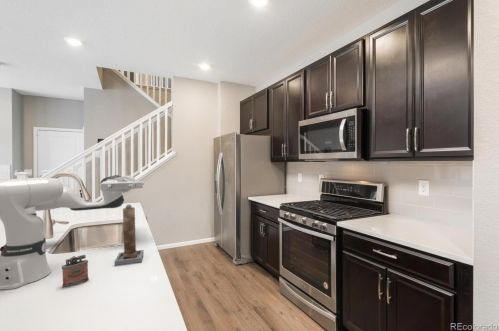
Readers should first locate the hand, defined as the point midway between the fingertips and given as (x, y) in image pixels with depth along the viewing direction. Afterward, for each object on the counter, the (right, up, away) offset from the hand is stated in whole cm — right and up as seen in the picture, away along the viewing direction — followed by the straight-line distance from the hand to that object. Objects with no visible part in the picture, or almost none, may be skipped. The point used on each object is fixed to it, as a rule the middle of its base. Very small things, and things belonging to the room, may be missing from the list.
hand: (119, 186), depth 126 cm
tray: (+11, -32, -13) cm, 36 cm away
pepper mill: (+11, -32, -12) cm, 36 cm away
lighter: (+1, -33, -34) cm, 47 cm away
